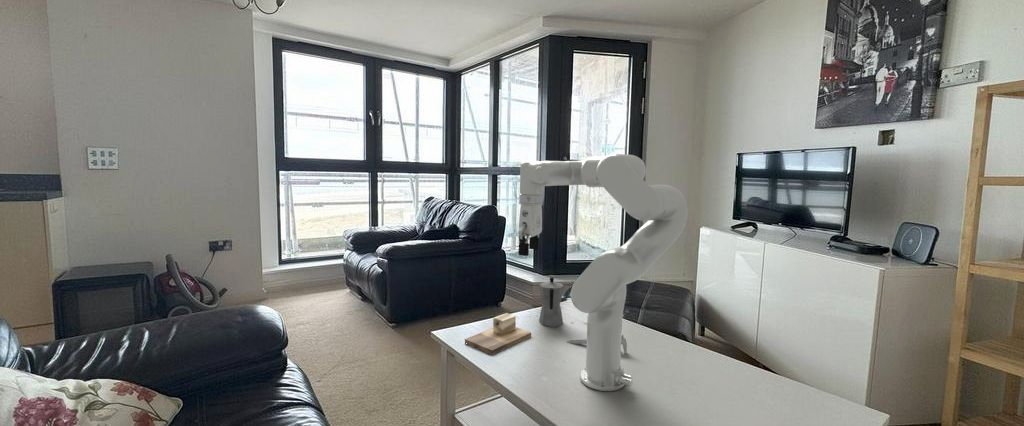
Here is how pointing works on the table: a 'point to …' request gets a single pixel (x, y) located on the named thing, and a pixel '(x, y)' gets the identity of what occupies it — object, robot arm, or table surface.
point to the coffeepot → (551, 303)
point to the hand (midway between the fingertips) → (528, 252)
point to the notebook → (497, 340)
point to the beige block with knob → (504, 323)
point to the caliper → (584, 341)
